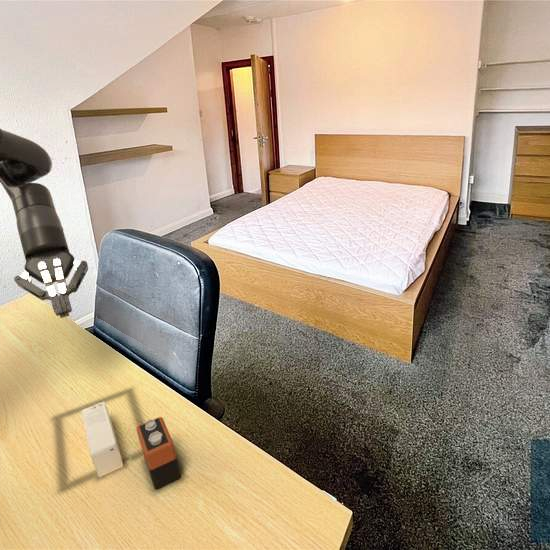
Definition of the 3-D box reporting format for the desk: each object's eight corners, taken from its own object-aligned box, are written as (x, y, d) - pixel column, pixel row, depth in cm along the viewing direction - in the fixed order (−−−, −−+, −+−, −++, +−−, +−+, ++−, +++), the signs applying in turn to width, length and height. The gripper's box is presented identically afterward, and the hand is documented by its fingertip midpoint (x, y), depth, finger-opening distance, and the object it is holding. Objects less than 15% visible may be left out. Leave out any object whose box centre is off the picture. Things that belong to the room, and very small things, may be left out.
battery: (156, 495, 65) (143, 450, 60) (146, 464, 70) (134, 421, 66) (183, 482, 66) (172, 438, 62) (171, 453, 72) (160, 410, 68)
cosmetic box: (80, 409, 74) (89, 454, 65) (104, 400, 76) (117, 442, 67) (89, 434, 77) (99, 481, 67) (112, 424, 79) (125, 468, 69)
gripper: (-4, 232, 73) (18, 321, 69) (76, 217, 79) (101, 298, 74) (8, 251, 80) (28, 332, 75) (80, 236, 85) (103, 311, 81)
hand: (64, 315), depth 75 cm, fingers closed
